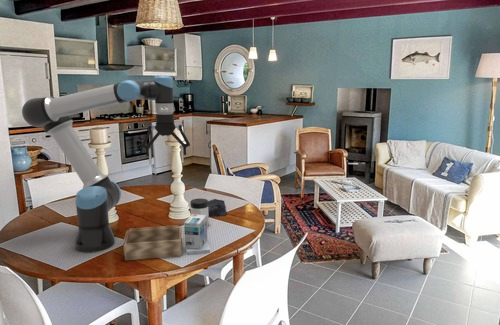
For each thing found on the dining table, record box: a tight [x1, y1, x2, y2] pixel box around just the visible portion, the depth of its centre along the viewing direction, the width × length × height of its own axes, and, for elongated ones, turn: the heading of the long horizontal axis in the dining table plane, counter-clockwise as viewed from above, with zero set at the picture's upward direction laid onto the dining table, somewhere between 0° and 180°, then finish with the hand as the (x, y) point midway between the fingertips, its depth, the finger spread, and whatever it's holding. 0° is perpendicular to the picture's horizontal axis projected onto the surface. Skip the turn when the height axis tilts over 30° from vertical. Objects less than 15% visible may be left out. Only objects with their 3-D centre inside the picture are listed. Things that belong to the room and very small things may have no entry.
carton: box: [122, 225, 184, 261], centre depth 154 cm, size 22×16×7 cm
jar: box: [189, 197, 210, 227], centre depth 181 cm, size 9×8×12 cm
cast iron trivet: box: [208, 198, 227, 218], centre depth 204 cm, size 15×22×5 cm
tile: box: [185, 239, 211, 256], centre depth 158 cm, size 9×14×1 cm, turn 12°
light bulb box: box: [183, 214, 208, 249], centre depth 157 cm, size 11×7×11 cm, turn 171°
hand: (166, 163), depth 167 cm, fingers open, 13 cm apart
